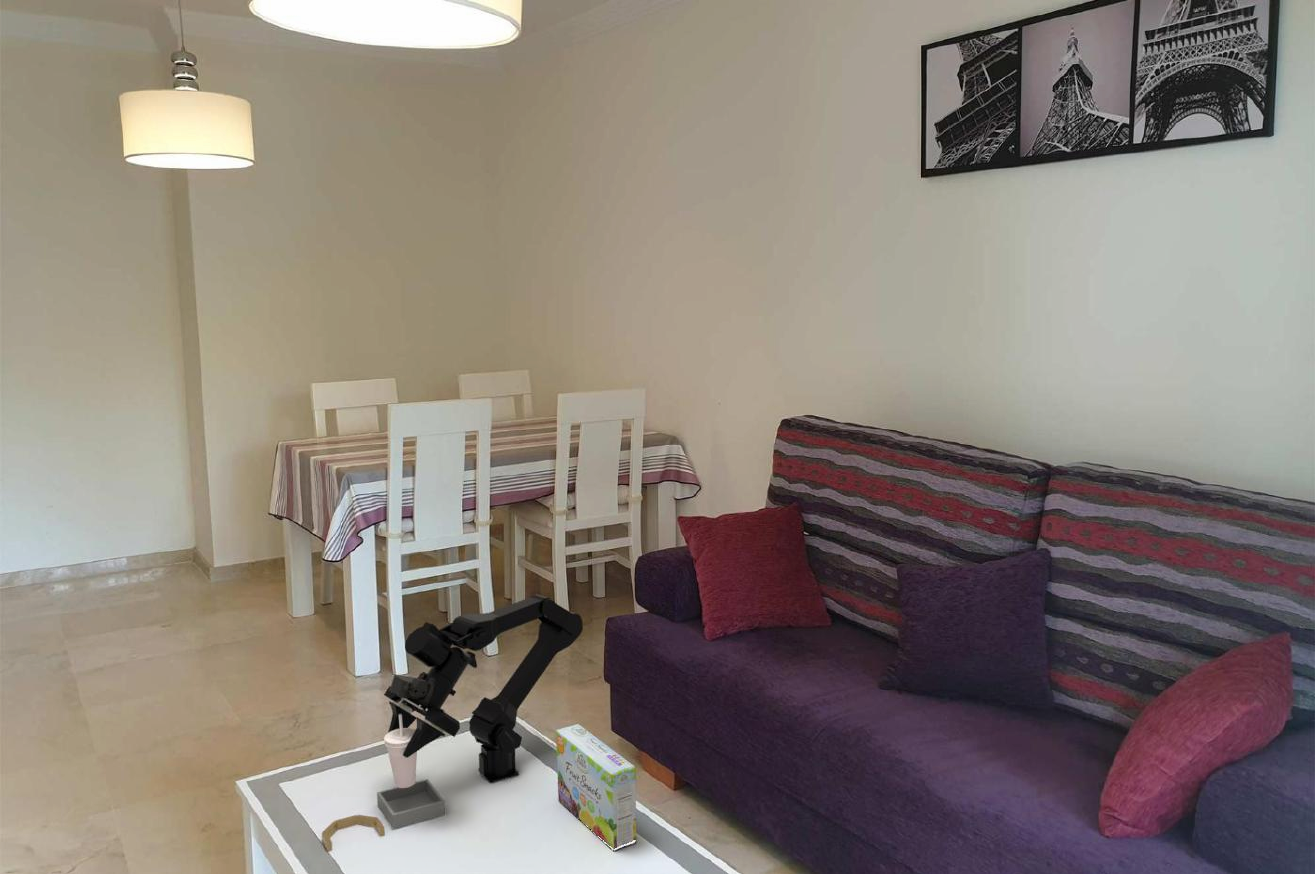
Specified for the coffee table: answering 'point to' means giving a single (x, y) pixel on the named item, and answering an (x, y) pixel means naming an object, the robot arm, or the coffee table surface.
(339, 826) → the collar
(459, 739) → the coffee table surface
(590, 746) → the snack box
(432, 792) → the tray
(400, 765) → the smoothie
